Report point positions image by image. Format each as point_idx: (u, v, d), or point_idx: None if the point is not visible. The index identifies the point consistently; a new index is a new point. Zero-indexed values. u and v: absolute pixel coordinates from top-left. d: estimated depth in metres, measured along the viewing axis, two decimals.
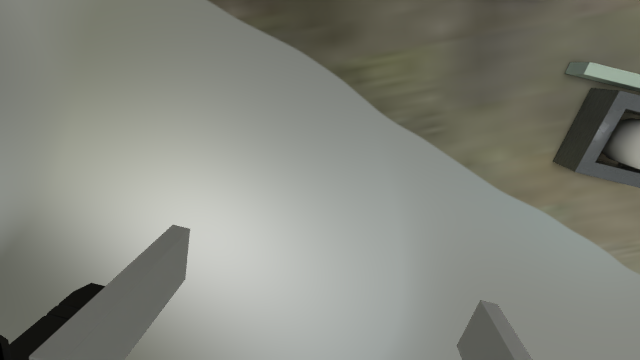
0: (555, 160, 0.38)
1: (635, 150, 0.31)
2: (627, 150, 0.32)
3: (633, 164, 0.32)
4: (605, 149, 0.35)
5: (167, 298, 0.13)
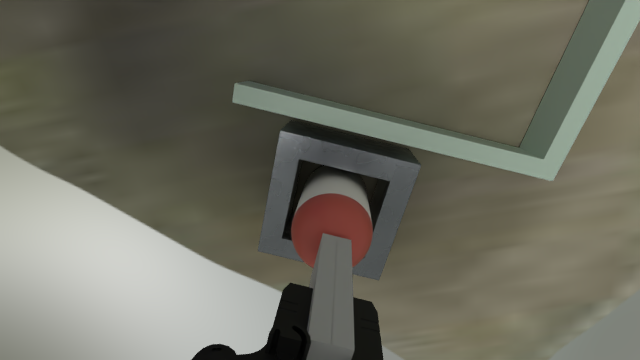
0: None
1: None
2: None
3: None
4: None
5: None
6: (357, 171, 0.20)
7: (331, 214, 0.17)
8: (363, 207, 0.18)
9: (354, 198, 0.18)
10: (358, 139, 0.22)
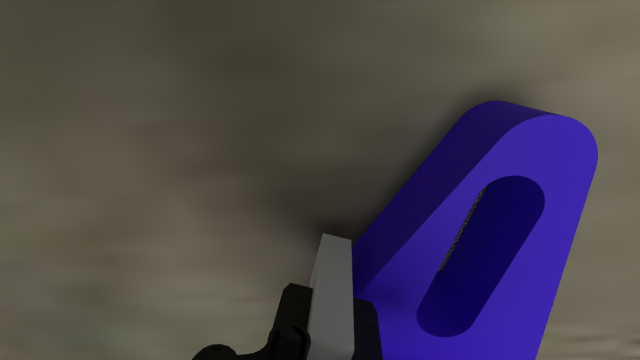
0: None
1: None
2: None
3: None
4: None
5: None
6: None
7: None
8: None
9: None
10: None
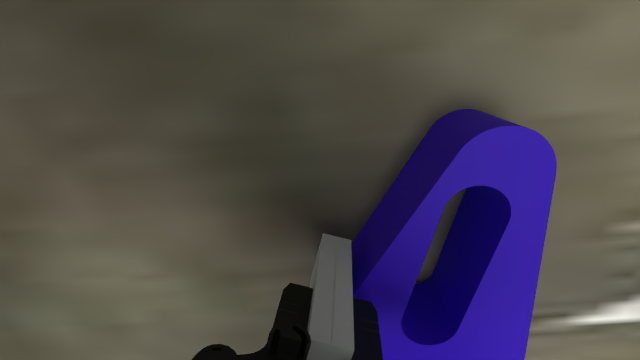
0: None
1: None
2: None
3: None
4: None
5: None
6: None
7: None
8: None
9: None
10: None
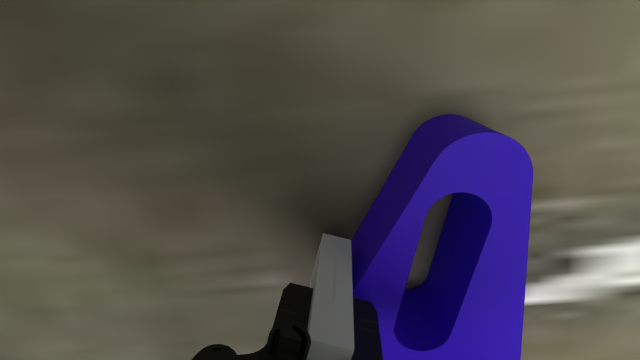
0: None
1: None
2: None
3: None
4: None
5: None
6: None
7: None
8: None
9: None
10: None
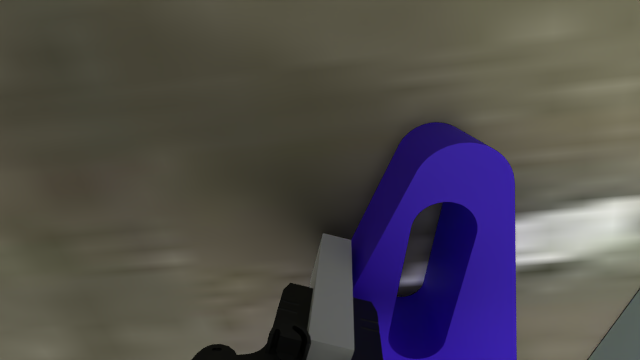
0: None
1: None
2: None
3: None
4: None
5: None
6: None
7: None
8: None
9: None
10: None
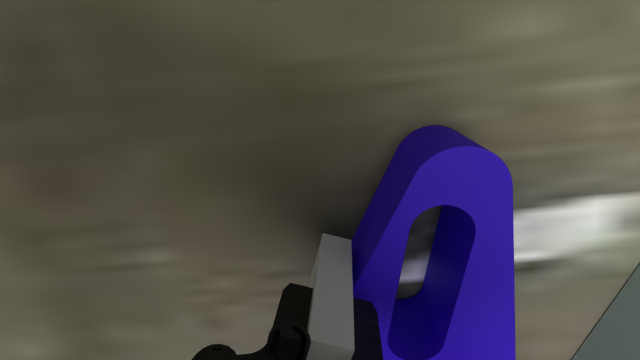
0: None
1: None
2: None
3: None
4: None
5: None
6: None
7: None
8: None
9: None
10: None
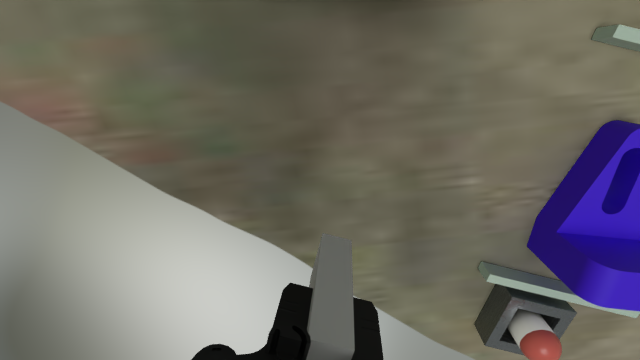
0: (475, 324, 0.49)
1: (515, 336, 0.43)
2: (512, 332, 0.44)
3: None
4: None
5: None
6: (545, 314, 0.43)
7: (549, 342, 0.40)
8: None
9: (551, 331, 0.41)
10: None
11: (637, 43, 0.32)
